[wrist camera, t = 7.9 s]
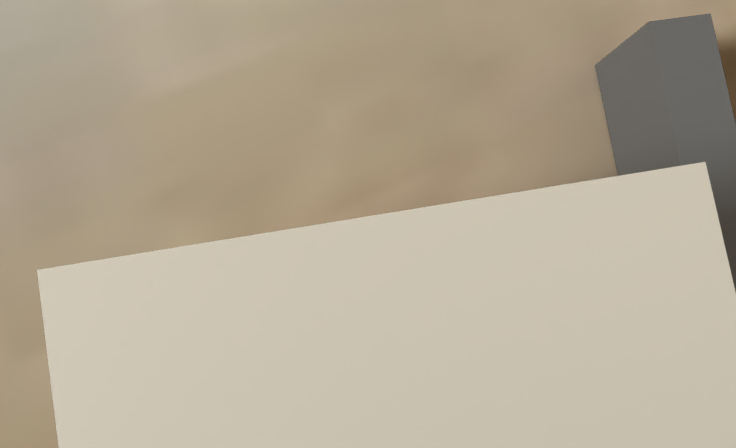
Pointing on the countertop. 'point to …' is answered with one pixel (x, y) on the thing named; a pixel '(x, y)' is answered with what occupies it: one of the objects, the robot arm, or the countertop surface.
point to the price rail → (673, 108)
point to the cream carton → (415, 329)
